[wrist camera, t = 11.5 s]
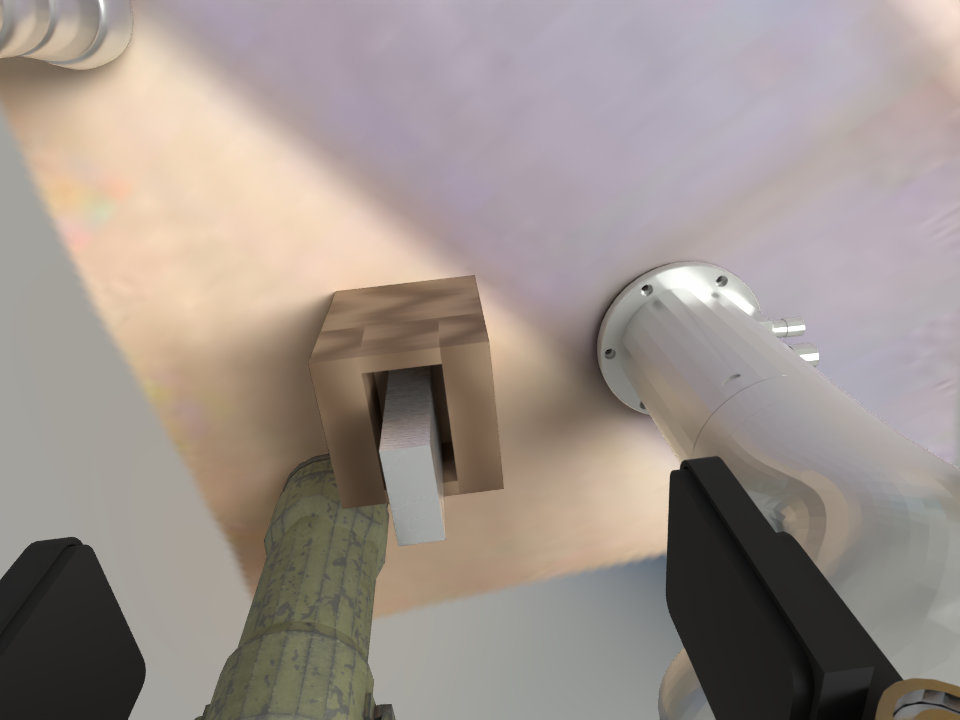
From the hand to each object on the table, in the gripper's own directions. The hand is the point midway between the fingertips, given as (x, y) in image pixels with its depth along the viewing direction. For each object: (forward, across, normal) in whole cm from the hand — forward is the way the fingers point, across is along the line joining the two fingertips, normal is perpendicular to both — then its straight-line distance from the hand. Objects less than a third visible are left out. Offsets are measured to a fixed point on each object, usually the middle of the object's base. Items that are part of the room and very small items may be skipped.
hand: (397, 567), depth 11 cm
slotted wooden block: (+36, +2, +12) cm, 38 cm away
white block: (+29, +2, +13) cm, 32 cm away
